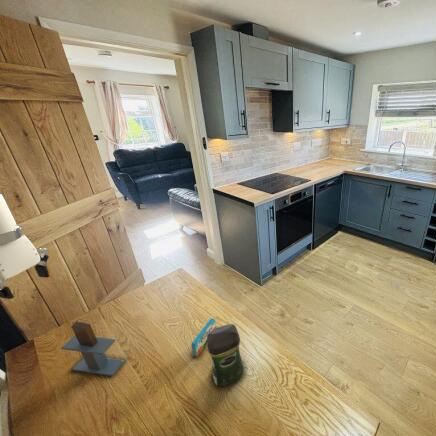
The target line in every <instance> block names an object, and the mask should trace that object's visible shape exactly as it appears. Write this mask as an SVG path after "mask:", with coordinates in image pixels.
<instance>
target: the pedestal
mask: <svg viewBox="0 0 436 436" xmlns="http://www.w3.org/2000/svg"><path fill="white" fill-rule="evenodd" d="M96 339H97V341H98V342H97V343H96V344H95V345H94V346H93V347H91V346H84V345H80V344H79V342H78V340H77V338H76V336H75V335H73V336H72V337H71V338H70V339H69V340H68V341H67V342H66V343H64V344H63V345H62V346H61V347H60V350H66V351H74V352H80V354H81V356H82V359H81V360H80V361H79V362H78V363H77V364H76V365H75V366H74V367H73V368H72V371H75V372H81V373H87V374H94V375H95V374H96V375H101V376H110V377H113V376H114V375H115V374H116V373H117V371H118V370H119V369H120V367H121V366H123V364H124V362H125V360H123V359H118V358H109V357H107V356H106V352H107V351H108V350H109V349H110V348H111V347H112V346H113V344H115V342H116V341H117V339H116V338H110V337H109V338H107V337H101V336H96Z"/></svg>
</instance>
